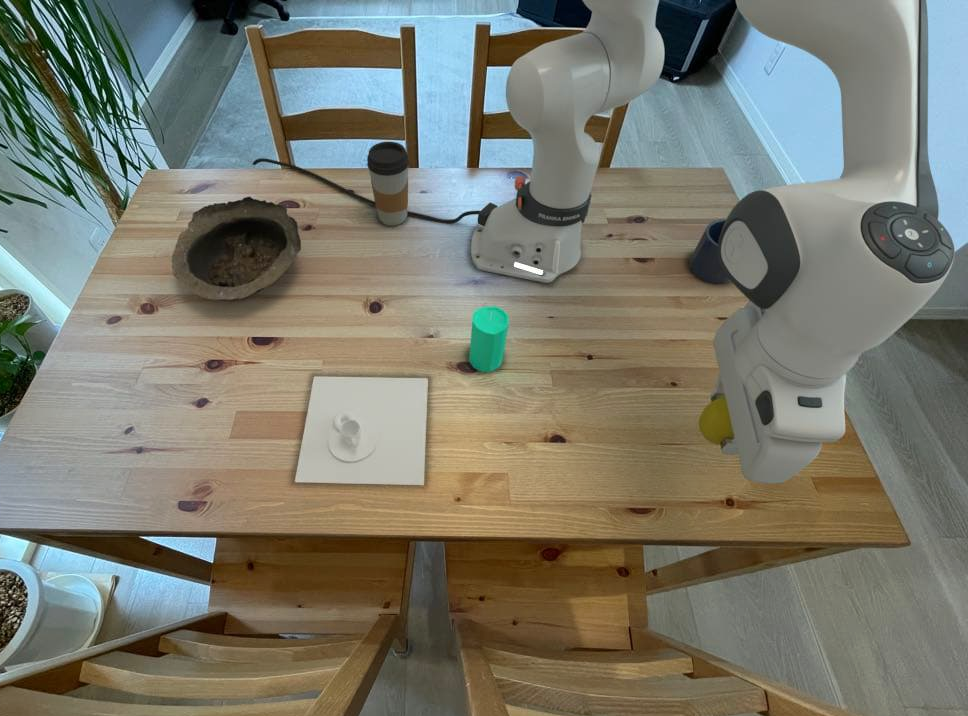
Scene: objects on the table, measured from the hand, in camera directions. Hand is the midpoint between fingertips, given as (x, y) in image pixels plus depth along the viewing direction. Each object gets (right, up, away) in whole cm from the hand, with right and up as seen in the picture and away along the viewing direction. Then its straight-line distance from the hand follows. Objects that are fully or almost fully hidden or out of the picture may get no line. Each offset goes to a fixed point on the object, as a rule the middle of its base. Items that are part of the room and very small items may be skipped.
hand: (721, 425), depth 64 cm
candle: (-26, +11, +28) cm, 40 cm away
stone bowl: (-73, +29, +40) cm, 88 cm away
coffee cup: (-44, +44, +49) cm, 79 cm away
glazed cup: (+20, +30, +39) cm, 53 cm away
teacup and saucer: (-47, -1, +20) cm, 51 cm away
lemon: (0, -2, +3) cm, 3 cm away
